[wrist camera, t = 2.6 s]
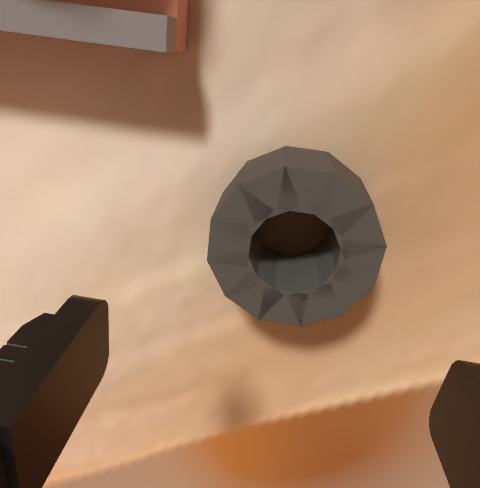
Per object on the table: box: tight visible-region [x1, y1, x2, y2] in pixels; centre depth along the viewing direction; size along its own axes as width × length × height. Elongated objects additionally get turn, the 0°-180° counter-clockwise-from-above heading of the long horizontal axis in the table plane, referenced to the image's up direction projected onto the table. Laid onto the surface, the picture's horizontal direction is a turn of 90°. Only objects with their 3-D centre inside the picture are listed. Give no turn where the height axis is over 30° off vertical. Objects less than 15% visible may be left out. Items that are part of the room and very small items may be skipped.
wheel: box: [207, 146, 387, 326], centre depth 16 cm, size 6×6×3 cm
